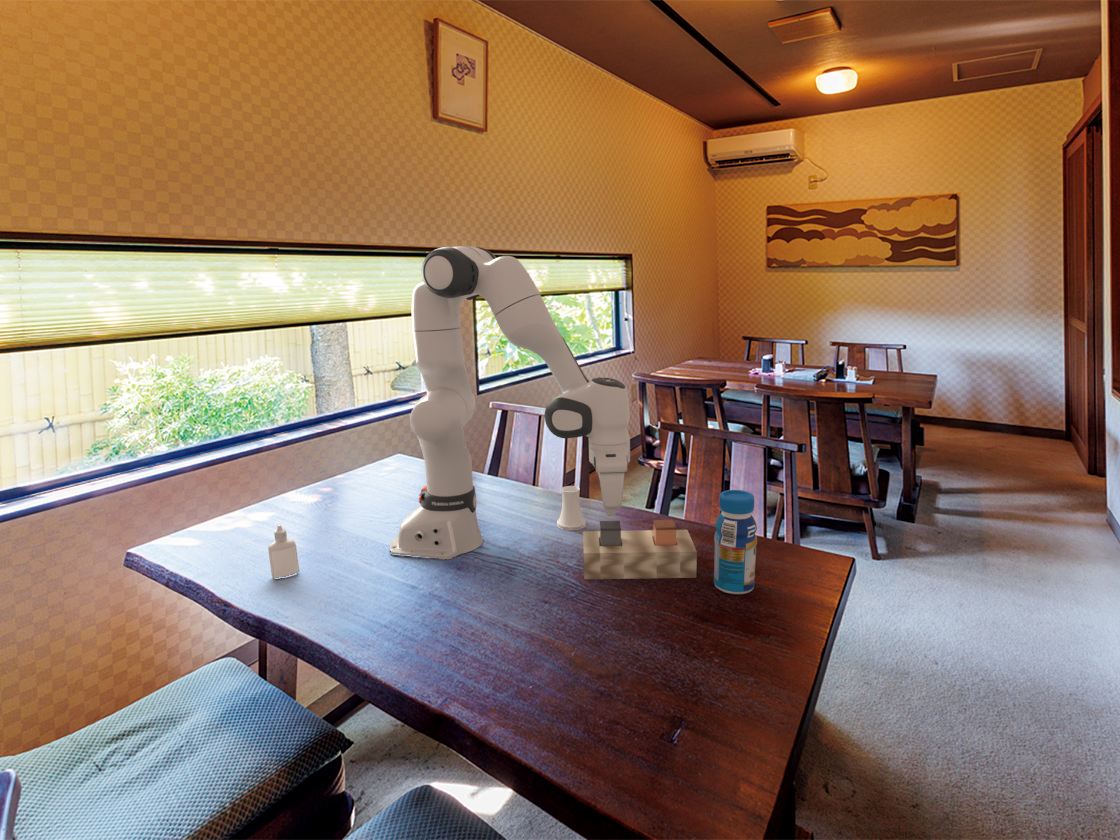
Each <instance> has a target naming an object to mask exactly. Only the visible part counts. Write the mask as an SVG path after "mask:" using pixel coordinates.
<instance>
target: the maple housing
mask: <svg viewBox="0 0 1120 840" xmlns="http://www.w3.org/2000/svg"><path fill="white" fill-rule="evenodd" d="M653 532H654V529H651V530H650V529H649V530H648V529H647V530H641V529H640V530H621V546H600V530H591V531H589V530H586V531H582V538H583V539H582V540H583V541H582V546H583V548H582V549H583V576H584V577H583V579H584V580H616V579H617V580H620V579H622V580H623V579H624V580H629V579H630V580H632V579H634V580H635V579H636V580H637V579H683V578H684V579H687V578H689V579H692V578H693V579H694V578H695V579H696V578H697V568H698V567H697V566H698V565H697V564H698V563H697V561H698V557H697V556H698V551H697V549H696V546H695V545H694V542H693V540H692V538H691V535H690V533H689V530H688V529H676V545H654V541H653Z"/></svg>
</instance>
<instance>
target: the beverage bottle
mask: <svg viewBox="0 0 1120 840" xmlns="http://www.w3.org/2000/svg"><path fill="white" fill-rule="evenodd" d="M718 504H719V505H718V507H719V510H720V511H721V512H720V514H719V515H718V517H717V518H716V519H715V524H714V527H715V529H716V530H715V532H714V535H713V541H714V563H713V565H714V567H713V568H714V570H713V572H714V573H713V583H714V586H715V588H716V589H718V590H719V591H721V592H723V593H726V594H730V595H744V594H748V593H750V592H752V591H753V590H754V588H755V582H756V581H755V574H756V554H757V545H758V536H757V535H756V532H757V530H758V526H757V522H756V520H755V518H754V516H753V512H754V509H755V496H754V494H753V493H751V492H749V491H746V490H742V489H741V490H740V489H728V490H724V491H722V492H720V494H719V503H718Z"/></svg>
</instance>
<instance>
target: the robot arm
mask: <svg viewBox="0 0 1120 840" xmlns="http://www.w3.org/2000/svg"><path fill="white" fill-rule="evenodd" d="M421 277H422V282H419V283H418V284H417V285H416V286H415V287H414V289H413V291H412V295H411V296H412V298H411V329H412V340H413V347H414V357H415V365H416V367H417V369H418V370H419V371H420V373H421V374H420V375H421V377H422V379H423V383H424V385H425V390H426V394H425V395H424V396H423V395H422V397H420V399H418V401H417V402H416V403H415V405H414V407H412V409H411V413H410V415H409V425H410V427H411V430H412V432H413V433H414V435H415V436H416V437H417V439H418V441H419V446H420V448H421V453H422V455H423V456H422V457H423V461H424V469H425V479H426V481H425V482H426V485H424V486H423V487H422V489H420V493H419V495H418V496H419V497H418V503H419V505H418V506H417V507H416V508H414V510H412V511H411V512H410V513H408V515H407V516H406V517H404V519H403V520H402V521H401V523H400V526H399V530H398V535H396V536H395V537H394V538H393V539H392V541H391V543H390V546H389V552H390V551H391V553H392V554H400V555H411V556H420V557H429V558H428V559H431V558H439V559H438V560H445V559H447V560H451V559H453V557H454V558H456V557H457V556H459V555H462V554H467V553H469V552H472V551H474V550H476V549H478V548H479V547H481V545H483V543H484V539H483V536H482V533H481V531H480V527H479V522H478V517H477V512H476V511H477V492H476V487H475V486H474V481H473V480H474V479H473V467H472V466H473V463H472V456H471V455H472V454H470V452H469V450H468V446H467V444H466V443H467V442H466V439H465V435H464V429H465V428H464V427H465V425H466V424H467V423H469V422H470V420H471V419H472V417H473V416H474V413H475V410H476V405H477V403H476V397H475V396H474V393H473V392H472V387H471V383H470V378H469V374H468V372H467V368H466V362H465V356H464V355H465V354H464V346H463V334H462V332H463V331H462V324H461V315H460V314H461V306H462V303H463V302H464V301H465V300H468V301H471V300H474V299H475V298H478V297H482V298H483V299H484V300H485V301H486V302H487V304H488V306H489V308H490V310H491V312H492V315H493V317H494V320H495V321H496V324H497V325H498V327H499V329H500V331H501V332H502V334H503V335H504V336H505V338H506V340H508V341H509V342H510V343H511V344H512V345H514V346H516V347H518V348H521V349H524V350H526V351H530V352H532V353H534V354H536V355H537V356H539V357H540V358H541V359H542V360H543V361H544V363H545V364H546V365H547V368H548V369H549V371H550V372H551V374H552V376H553V377H554V380H556V383H557V384H558V386H559V389H560V390H561V394H559V395H557V396H556V397H554V398H553V399H552V400H550V401H549V402H548V403H547V404H546V407H545V411H544V422H545V425H546V427H547V429H548V430H549V432H551V434H552V435H554V436H555V437H557V438H559V439H560V438H561V439H573V438H581V437H582V438H583V437H587V438H588V459H589V460H588V461H589V462H590V464H592V466H593V467H594V469H595V472H596V473H597V475H598V479H599V485H600V492H601V498H602V505H603V508H604V509H605V510H606V515H607V517H615V516H616V510H619V509H621V508H622V506H623V498H624V489H625V488H624V487H625V473H626V472H628V466H629V463H630V462H631V438H630V434H629V424H630V419H631V417H630V416H631V415H630V401H629V400H630V399H629V395H628V390H627V387H626V385H625V384H624V383H623V382H622V381H619V380H618V379H615V378H611V377H594V378H591V379H590V380H589V379H588V378H587V376H586V375H585V373H584V371H583V369H582V368H581V366H580V364H579V362H578V361H577V359H576V357H575V356H574V353H573V352H572V351H571V349H570V346H569V345H568V344H567V342H566V340H565V338H564V337H563V335H562V333H561V332H560V330H559V328H558V327H557V325H556V323H555V322H554V320H553V317H552V316H551V314H550V311H549V310H548V307H547V305H546V303H545V302H544V301H545V300H544V299H543V298H542V295H541V293H540V292H539V289H538V287H537V285H536V284H535V281H534V280H533V279H532V277H531V276H530V274H529V272H528V271H527V269H526V268H525V267H524V265H523V264H522V262H521V261H519V259H518V258H516V257H514V256H510V255H502V256H498V257H497V256H496V255H495V254H494V253H492V251H490V250H487V249H486V248H483V247H477V246H476V247H475V246H471V245H458V246H442V247H438V248H436V249H434V250H432V251H430V252H429V253H428V254H427V255H426V257H425V258H424V259H423V262H422V266H421ZM393 548H394V549H393ZM391 553H390V554H391Z"/></svg>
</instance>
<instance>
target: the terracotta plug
mask: <svg viewBox="0 0 1120 840" xmlns="http://www.w3.org/2000/svg"><path fill="white" fill-rule="evenodd" d="M653 530H654V532H653V541H654V545H676V530H677V525H676V523H675V520H674V519H653Z"/></svg>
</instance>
